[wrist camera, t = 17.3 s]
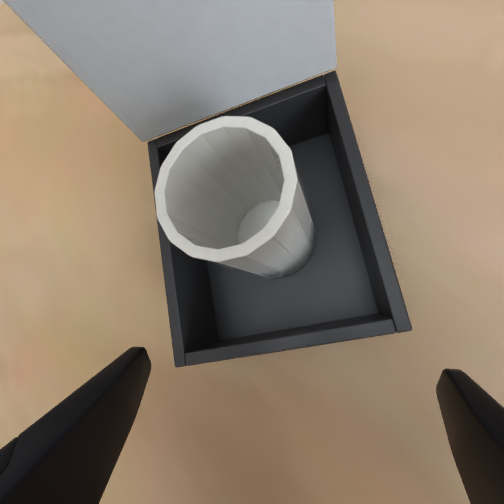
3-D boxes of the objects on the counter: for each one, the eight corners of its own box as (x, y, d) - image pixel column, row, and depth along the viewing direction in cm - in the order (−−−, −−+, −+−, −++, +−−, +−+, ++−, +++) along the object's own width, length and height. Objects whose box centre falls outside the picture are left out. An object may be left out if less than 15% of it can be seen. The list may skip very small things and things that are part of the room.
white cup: (261, 294, 21) (196, 291, 11) (220, 228, 22) (133, 176, 13) (333, 246, 20) (328, 197, 10) (285, 181, 21) (242, 87, 12)
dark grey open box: (391, 321, 19) (413, 330, 13) (215, 350, 22) (174, 367, 16) (336, 126, 22) (335, 69, 16) (188, 176, 25) (146, 141, 19)
